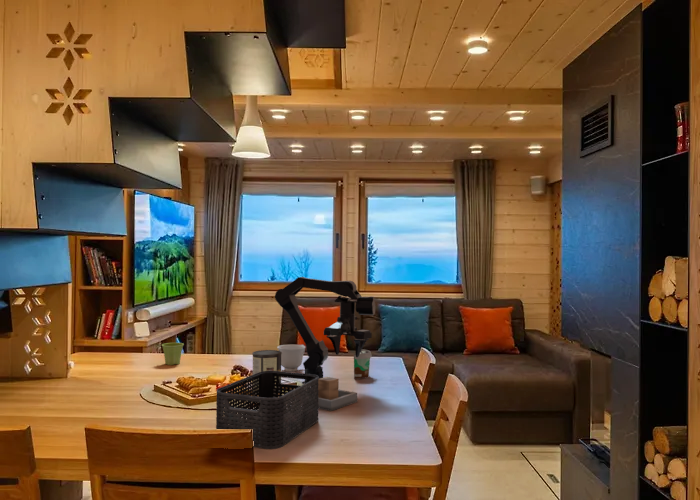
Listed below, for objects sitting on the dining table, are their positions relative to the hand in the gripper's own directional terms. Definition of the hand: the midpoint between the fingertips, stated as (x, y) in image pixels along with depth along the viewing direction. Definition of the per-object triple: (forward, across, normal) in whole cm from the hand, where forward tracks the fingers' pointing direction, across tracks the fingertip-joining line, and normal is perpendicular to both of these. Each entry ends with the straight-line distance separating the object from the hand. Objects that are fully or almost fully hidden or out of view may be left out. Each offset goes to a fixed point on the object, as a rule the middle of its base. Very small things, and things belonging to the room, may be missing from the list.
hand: (347, 355), depth 209 cm
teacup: (+11, -35, +9) cm, 38 cm away
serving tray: (+11, +10, -24) cm, 28 cm away
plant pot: (+11, -85, -15) cm, 87 cm away
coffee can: (+11, -16, -26) cm, 33 cm away
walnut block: (+10, +10, -24) cm, 28 cm away
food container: (+11, -4, +17) cm, 21 cm away
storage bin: (+11, +15, -56) cm, 60 cm away
